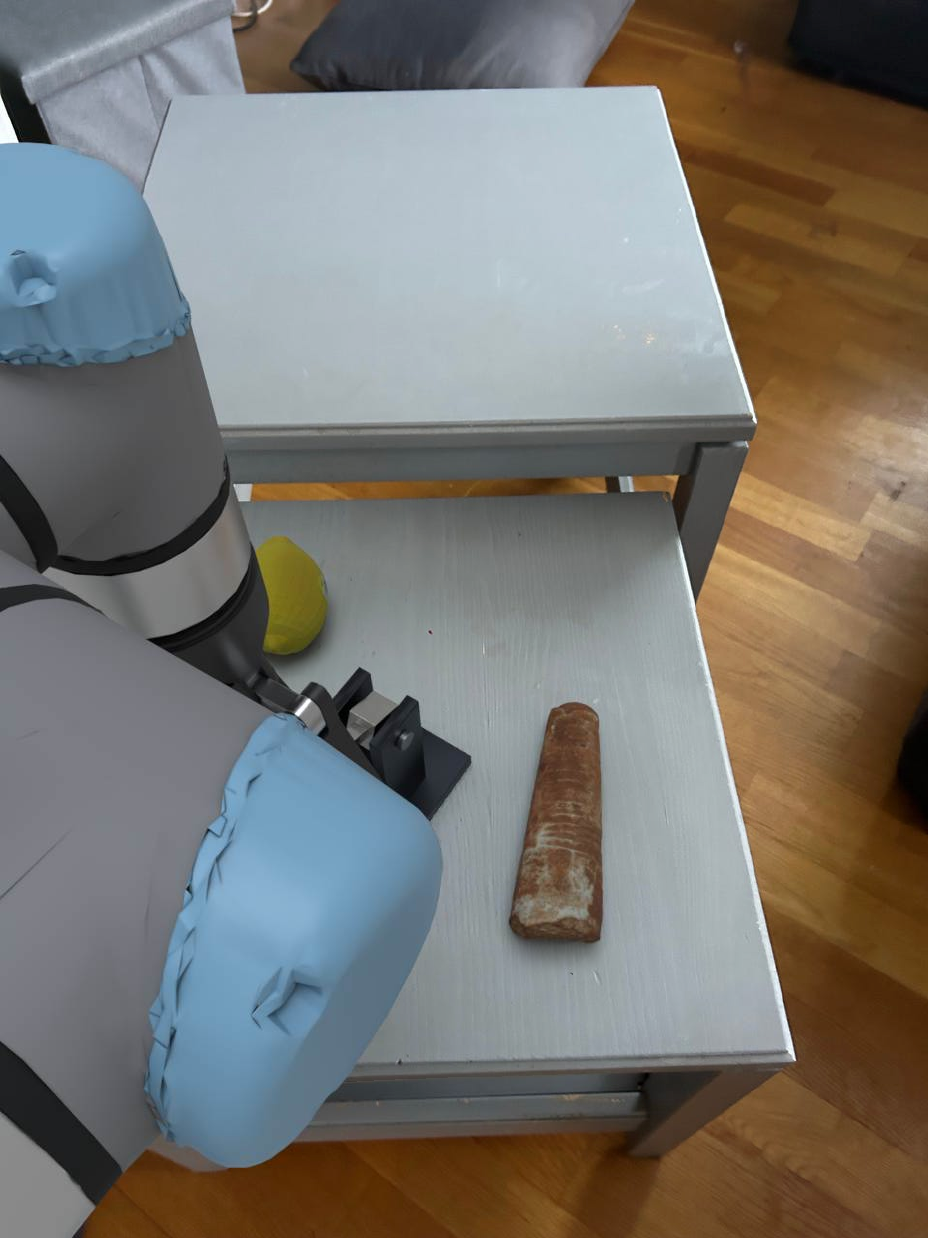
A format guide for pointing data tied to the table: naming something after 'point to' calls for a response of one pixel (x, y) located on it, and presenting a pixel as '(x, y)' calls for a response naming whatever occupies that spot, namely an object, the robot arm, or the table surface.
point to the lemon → (291, 595)
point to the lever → (369, 717)
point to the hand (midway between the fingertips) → (257, 797)
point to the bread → (563, 835)
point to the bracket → (406, 750)
